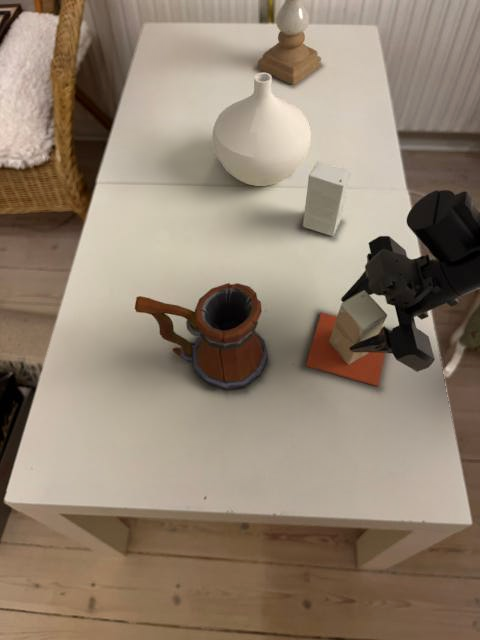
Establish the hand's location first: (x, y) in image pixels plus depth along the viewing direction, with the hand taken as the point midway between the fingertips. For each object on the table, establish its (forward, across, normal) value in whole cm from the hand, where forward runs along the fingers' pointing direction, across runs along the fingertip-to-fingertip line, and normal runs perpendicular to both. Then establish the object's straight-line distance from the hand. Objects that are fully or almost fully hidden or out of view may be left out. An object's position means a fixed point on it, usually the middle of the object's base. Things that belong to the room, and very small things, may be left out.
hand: (346, 324), depth 70 cm
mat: (+4, 0, +6) cm, 7 cm away
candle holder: (+6, -77, +4) cm, 77 cm away
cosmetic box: (+5, -26, +5) cm, 27 cm away
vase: (+12, -42, -2) cm, 43 cm away
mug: (+19, +1, -9) cm, 21 cm away
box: (+4, 0, +6) cm, 7 cm away
